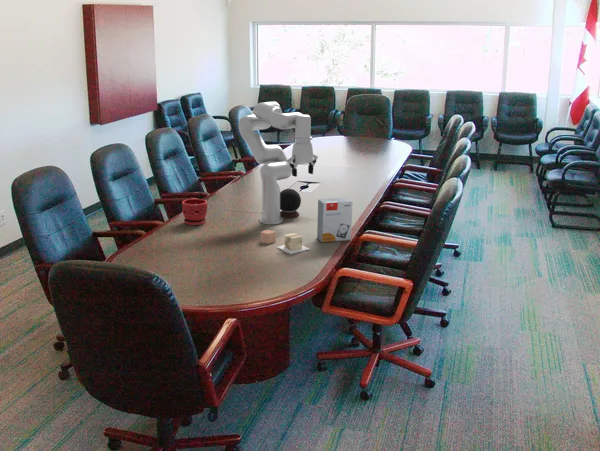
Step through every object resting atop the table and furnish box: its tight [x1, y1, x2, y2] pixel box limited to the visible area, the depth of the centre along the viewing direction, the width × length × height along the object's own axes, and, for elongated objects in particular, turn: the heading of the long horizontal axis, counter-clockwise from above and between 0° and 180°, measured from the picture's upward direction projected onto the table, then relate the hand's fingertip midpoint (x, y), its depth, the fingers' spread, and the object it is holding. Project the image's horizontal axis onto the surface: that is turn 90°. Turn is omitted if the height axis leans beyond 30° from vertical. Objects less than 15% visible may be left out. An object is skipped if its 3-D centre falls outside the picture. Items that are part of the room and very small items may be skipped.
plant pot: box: [181, 198, 208, 226], centre depth 346 cm, size 13×13×12 cm
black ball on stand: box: [280, 188, 302, 219], centre depth 360 cm, size 13×13×15 cm
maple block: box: [284, 232, 303, 251], centre depth 308 cm, size 6×6×6 cm
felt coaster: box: [276, 244, 311, 255], centre depth 309 cm, size 11×11×1 cm
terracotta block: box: [260, 229, 276, 245], centre depth 319 cm, size 5×5×5 cm
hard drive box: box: [316, 197, 353, 243], centre depth 321 cm, size 16×8×20 cm, turn 105°
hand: (302, 174), depth 323 cm, fingers open, 9 cm apart
